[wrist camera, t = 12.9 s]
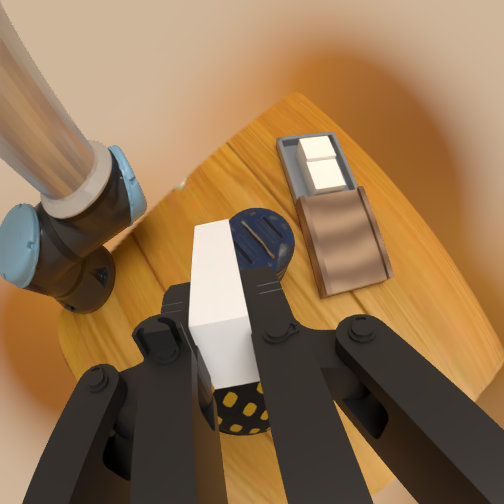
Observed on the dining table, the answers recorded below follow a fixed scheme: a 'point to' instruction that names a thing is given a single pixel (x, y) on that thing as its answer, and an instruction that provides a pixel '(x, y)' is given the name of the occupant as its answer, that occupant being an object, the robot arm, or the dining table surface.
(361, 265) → the board
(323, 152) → the block
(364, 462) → the dining table surface
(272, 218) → the canister
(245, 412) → the yellow spotted black dome
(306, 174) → the block
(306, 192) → the tray
